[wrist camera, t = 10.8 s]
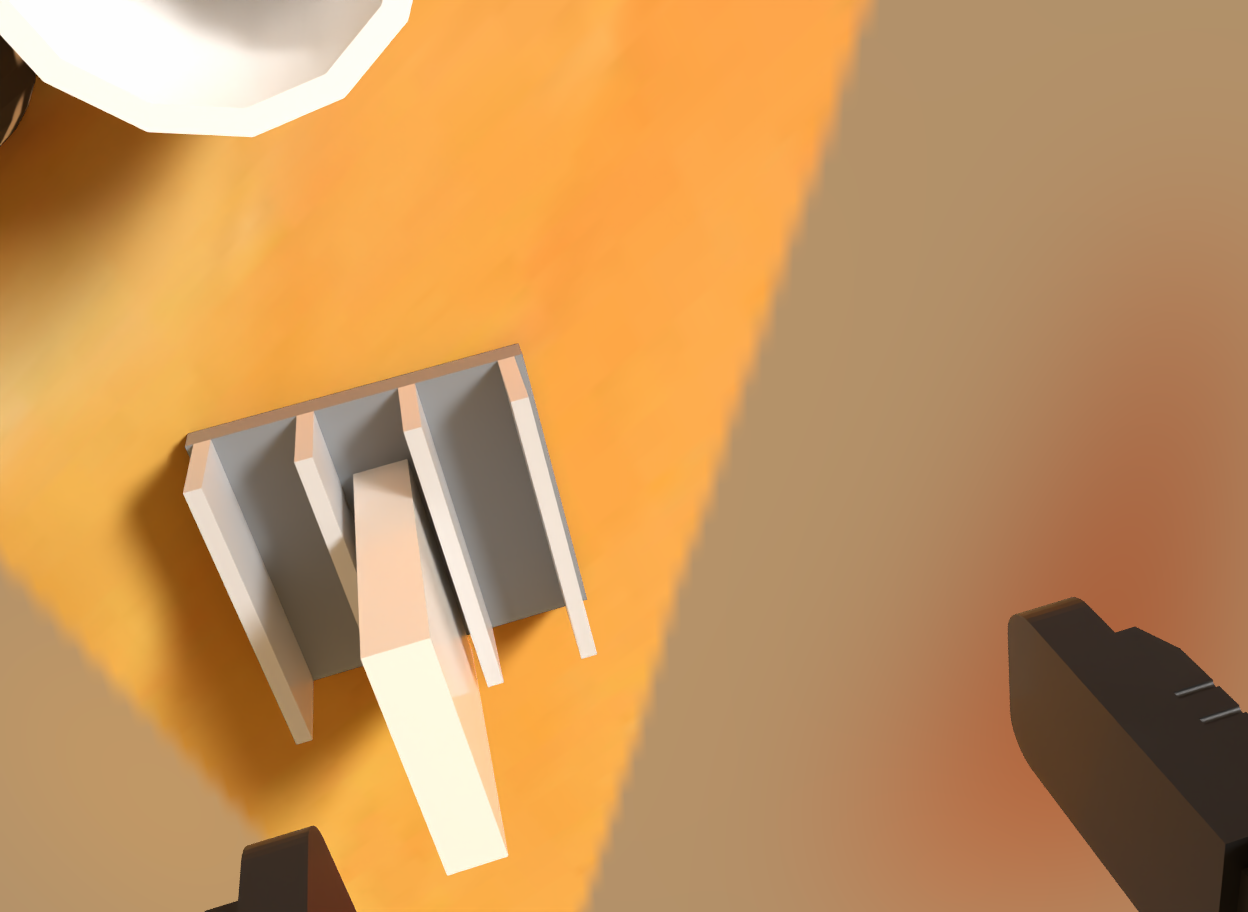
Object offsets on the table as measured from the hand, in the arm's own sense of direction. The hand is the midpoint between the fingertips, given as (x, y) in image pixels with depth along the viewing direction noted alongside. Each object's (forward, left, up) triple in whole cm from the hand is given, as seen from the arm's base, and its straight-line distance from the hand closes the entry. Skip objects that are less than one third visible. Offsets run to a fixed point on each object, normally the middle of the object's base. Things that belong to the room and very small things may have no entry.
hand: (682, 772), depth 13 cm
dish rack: (+13, -5, -30) cm, 33 cm away
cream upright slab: (+15, -5, -29) cm, 33 cm away
